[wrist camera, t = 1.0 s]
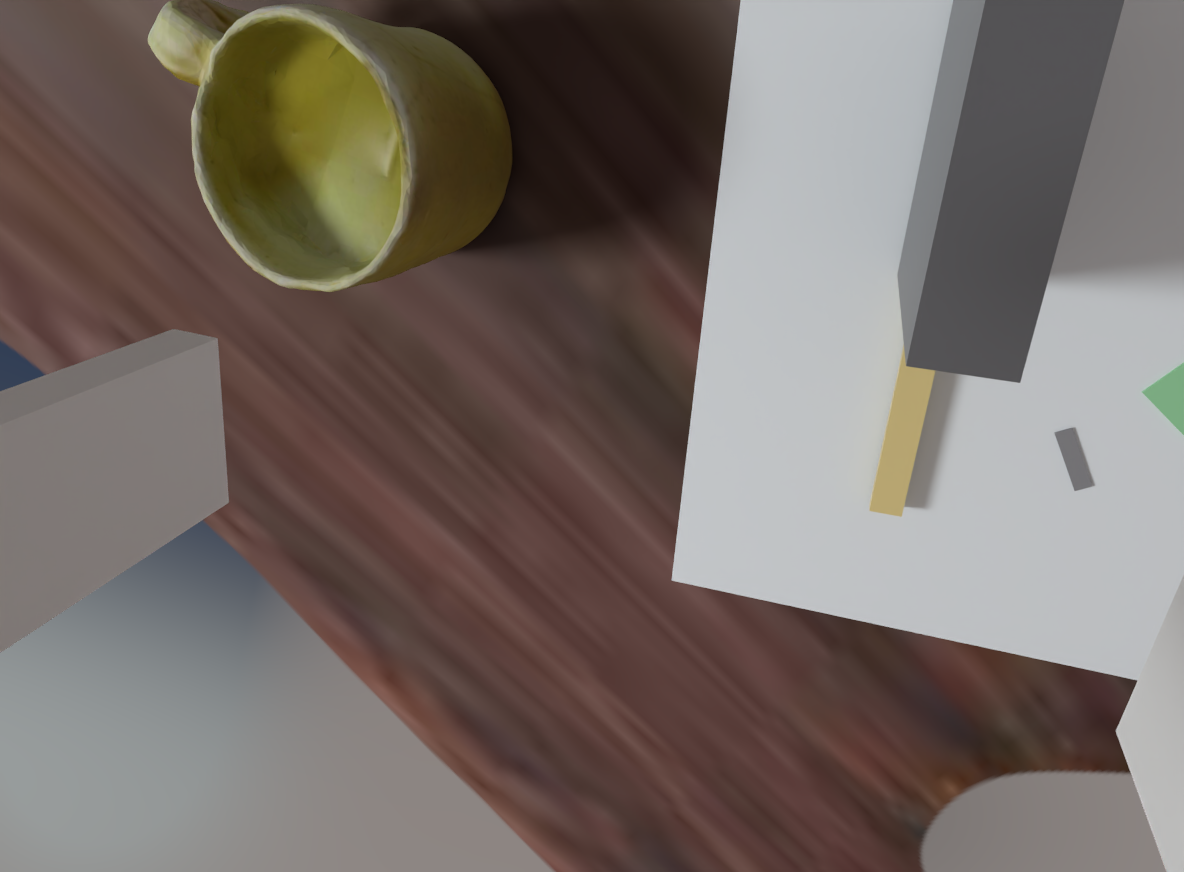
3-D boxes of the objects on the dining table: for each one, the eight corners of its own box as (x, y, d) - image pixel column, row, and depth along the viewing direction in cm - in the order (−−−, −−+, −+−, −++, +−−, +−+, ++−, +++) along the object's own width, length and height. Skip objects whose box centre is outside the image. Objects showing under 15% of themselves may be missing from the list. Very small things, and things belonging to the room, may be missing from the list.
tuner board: (765, -173, 29) (761, -181, 28) (1597, -164, 24) (1628, -174, 23) (676, 569, 40) (671, 581, 39) (1229, 686, 35) (1239, 703, 34)
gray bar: (955, -10, 28) (997, -53, 18) (1044, -5, 27) (1137, -47, 18) (850, 500, 35) (840, 667, 25) (920, 513, 34) (936, 688, 25)
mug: (605, 147, 32) (392, 194, 25) (472, 299, 39) (277, 369, 32) (419, -122, 33) (162, -149, 26) (322, 76, 40) (100, 97, 33)
